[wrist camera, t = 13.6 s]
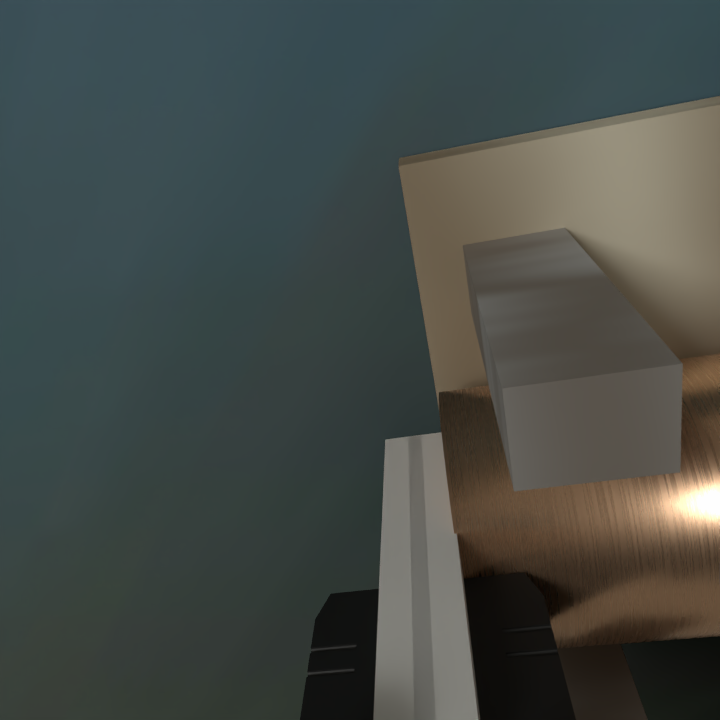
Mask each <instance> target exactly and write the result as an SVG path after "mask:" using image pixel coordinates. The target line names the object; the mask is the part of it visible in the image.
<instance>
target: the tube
mask: <svg viewBox="0 0 720 720" xmlns="http://www.w3.org/2000/svg"><path fill="white" fill-rule="evenodd" d="M679 360H680V361H681V362H682V363H683V373H682V419H681V465H680V473H671V474H662V475H653V476H645V477H636V478H627V479H618V480H610V481H601V482H592V483H583V484H574V485H566V486H557V487H548V488H539V489H531V490H522V491H514V489H513V485H512V481H511V476H510V472H509V468H508V464H507V460H506V456H505V451H504V447H503V443H502V439H501V435H500V431H499V426H498V422H497V418H496V414H495V410H494V406H493V401H492V397H491V393H490V389H489V385H487V386H480V387H472V388H465V389H458V390H450V391H443V392H439V412H440V423H441V432H442V442H443V451H444V459H445V468H446V476H447V484H448V491H449V499H450V507H451V514H452V521H453V529H454V534H456V533H457V539H458V546H459V552H460V559H461V565H462V571H463V578H464V579H465V578H475V577H484V576H494V575H503V574H513V573H522V572H524V573H525V574H526V575H527V576H528V577H529V579H530V580H531V581H532V582H533V583H534V585H535V586H536V587H537V588H538V589H539V591H540V592H541V593H542V594H543V595H544V599H545V603H546V607H547V611H548V615H549V618H550V622H551V627H552V630H553V634H554V638H555V641H556V645H557V648H570V647H583V646H596V645H610V644H623V643H637V642H650V641H663V640H677V639H690V638H703V637H717V636H720V354H713V355H705V356H698V357H691V358H684V359H679Z"/></svg>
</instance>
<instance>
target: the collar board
mask: <svg viewBox="0 0 720 720" xmlns="http://www.w3.org/2000/svg"><path fill="white" fill-rule="evenodd" d="M399 171H400V177H401V183H402V189H403V195H404V201H405V207H406V213H407V220H408V226H409V232H410V238H411V244H412V250H413V256H414V262H415V268H416V274H417V280H418V286H419V292H420V298H421V304H422V310H423V316H424V322H425V328H426V334H427V340H428V346H429V352H430V358H431V364H432V370H433V376H434V382H435V388H436V394H437V400H438V406H439V392H443V391H450V390H458V389H465V388H472V387H480V386H487V385H489V389H490V393H491V397H492V401H493V406H494V410H495V414H496V418H497V422H498V426H499V431H500V435H501V439H502V443H503V447H504V451H505V456H506V460H507V464H508V468H509V472H510V476H511V481H512V485H513V489H514V491H522V490H531V489H539V488H548V487H557V486H566V485H574V484H583V483H592V482H601V481H610V480H618V479H627V478H636V477H645V476H653V475H662V474H671V473H680V465H681V419H682V373H683V363H682V362H681V361H680V360H679V359H684V358H691V357H698V356H705V355H713V354H720V96H717V97H712V98H707V99H702V100H696V101H691V102H686V103H681V104H676V105H671V106H666V107H660V108H655V109H650V110H645V111H640V112H635V113H629V114H624V115H619V116H614V117H609V118H604V119H598V120H593V121H588V122H583V123H578V124H573V125H568V126H562V127H557V128H552V129H547V130H542V131H537V132H531V133H526V134H521V135H516V136H511V137H506V138H500V139H495V140H490V141H485V142H480V143H475V144H470V145H464V146H459V147H454V148H449V149H444V150H439V151H433V152H428V153H423V154H418V155H413V156H408V157H402V158H399ZM557 650H558V654H559V657H560V660H561V664H562V668H563V672H564V676H565V680H566V683H567V687H568V691H569V695H570V699H571V703H572V706H573V710H574V714H575V718H576V720H647V717H646V714H645V711H644V709H643V706H642V703H641V700H640V697H639V695H638V692H637V689H636V686H635V683H634V681H633V678H632V675H631V672H630V669H629V666H628V664H627V661H626V658H625V655H624V652H623V650H622V647H621V644H610V645H596V646H583V647H570V648H557Z"/></svg>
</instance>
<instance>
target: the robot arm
mask: <svg viewBox="0 0 720 720" xmlns="http://www.w3.org/2000/svg"><path fill="white" fill-rule="evenodd" d="M311 650H312V651H311V653H310V658H309V665H308V677H307V678H306V684H305V691H304V697H303V704H302V711H301V717H300V720H576V718H575V714H574V710H573V706H572V703H571V699H570V695H569V691H568V687H567V683H566V680H565V676H564V672H563V668H562V664H561V660H560V657H559V654H558V650H557V645H556V641H555V638H554V634H553V630H552V627H551V622H550V618H549V615H548V611H547V607H546V603H545V599H544V595H543V594H542V593H541V592H540V591H539V589H538V588H537V587H536V586H535V585H534V583H533V582H532V581H531V580H530V579H529V577H528V576H527V575H526V574H525V573H524V572H522V573H513V574H503V575H494V576H484V577H475V578H465V579H464V578H463V571H462V565H461V559H460V552H459V546H458V539H457V533H456V534H454V529H453V521H452V514H451V507H450V499H449V491H448V484H447V476H446V468H445V459H444V451H443V442H442V432H440V433H433V434H426V435H417V436H409V437H402V438H395V439H387V440H385V463H384V486H383V509H382V532H381V555H380V579H379V589H373V590H363V591H353V592H344V593H334V594H330V596H329V598H328V599H327V601H326V603H325V604H324V606H323V608H322V609H321V611H320V613H319V614H318V616H317V617H316V619H315V625H314V632H313V638H312V645H311Z"/></svg>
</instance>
